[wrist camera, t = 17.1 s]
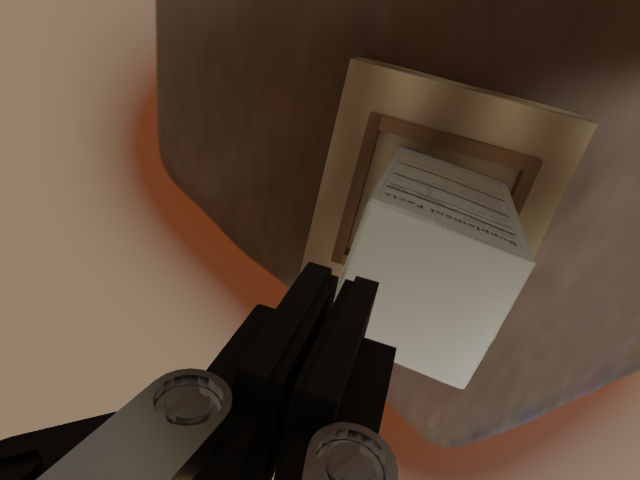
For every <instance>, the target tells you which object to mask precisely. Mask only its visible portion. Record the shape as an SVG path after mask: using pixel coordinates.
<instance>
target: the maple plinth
mask: <svg viewBox="0 0 640 480" xmlns="http://www.w3.org/2000/svg"><path fill="white" fill-rule="evenodd" d="M597 125H598V124H597V123H595V122H594V121H592V120H590V119H589V118H587V117H585V116H584V115H582V114H579V113H575V112H571V111H567V110H563V109H560V108H556V107H552V106H548V105H544V104H541V103H537V102H533V101H529V100H525V99H522V98H518V97H514V96H510V95H506V94H503V93H499V92H495V91H491V90H487V89H484V88H480V87H476V86H472V85H468V84H464V83H461V82H457V81H453V80H449V79H445V78H442V77H438V76H434V75H430V74H426V73H423V72H419V71H415V70H411V69H407V68H404V67H400V66H396V65H392V64H388V63H385V62H381V61H377V60H373V59H369V58H366V57H357V58H351V59H350V63H349V67H348V71H347V75H346V80H345V84H344V88H343V92H342V96H341V101H340V105H339V109H338V113H337V118H336V122H335V126H334V130H333V134H332V139H331V143H330V147H329V151H328V156H327V160H326V164H325V168H324V172H323V177H322V181H321V185H320V189H319V194H318V198H317V202H316V206H315V210H314V215H313V219H312V223H311V227H310V231H309V236H308V240H307V244H306V248H305V253H304V257H303V261H302V265H301V269H300V273H301V272H302V270H303V269H304V267H305V266H306V265H307V263H308V262H313V263H316V264H319V265H323V266H326V267H329V268H332V274H331V275H335V276H338V277H339V280H340V276H341V273H342V271H343V268H344V266H345V263H346V260H347V258H348V255H349V252H350V250H351V247H352V244H353V241H354V239H355V236H356V233H357V230H358V227H359V225H360V222H361V219H362V216H363V213H364V211H365V208H366V205H367V202H368V200H369V198H370V196H371V194H372V192H373V190H374V188H375V186H376V184H377V183H378V181H379V179H380V178H381V176H382V174H383V172H384V171H385V169H386V167H387V165H388V164H389V162H390V160H391V158H392V157H393V155H394V153H395V151H396V149H397V147H398V145H403V146H406V147H409V148H412V149H414V150H417V151H420V152H423V153H426V154H429V155H431V156H434V157H437V158H440V159H442V160H445V161H448V162H451V163H454V164H456V165H459V166H462V167H465V168H468V169H471V170H473V171H476V172H479V173H482V174H485V175H488V176H490V177H493V178H496V179H499V180H502V181H505V182H506V184H507V186H508V189H509V191H510V194H511V197H512V200H513V202H514V205H515V208H516V211H517V213H518V216H519V219H520V222H521V224H522V227H523V230H524V233H525V236H526V239H527V241H528V244H529V247H530V250H531V253H532V256H533V258H534V256H535V254H536V252H537V250H538V248H539V246H540V244H541V242H542V240H543V237H544V235H545V233H546V231H547V229H548V227H549V225H550V223H551V221H552V219H553V217H554V215H555V213H556V210H557V208H558V206H559V204H560V202H561V200H562V198H563V196H564V194H565V192H566V190H567V188H568V185H569V183H570V181H571V179H572V177H573V175H574V173H575V171H576V169H577V167H578V165H579V163H580V160H581V158H582V156H583V154H584V152H585V150H586V148H587V146H588V144H589V142H590V140H591V138H592V136H593V133H594V131H595V129H596V127H597ZM299 275H300V274H299ZM339 280H338V283H339ZM337 286H338V285H337ZM499 329H500V328H499ZM498 331H499V330H498ZM497 333H498V332H497ZM496 335H497V334H496ZM496 335H495V337H496ZM495 337H494V339H495ZM494 339H493V341H494Z"/></svg>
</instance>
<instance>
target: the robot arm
mask: <svg viewBox="0 0 640 480" xmlns="http://www.w3.org/2000/svg"><path fill="white" fill-rule="evenodd" d="M331 274H332V268H329V267H326V266H323V265H319V264H316V263H313V262H308V263H307V265H306V266H305V267H304V269H303V270H302V272H301V273H300V275H299V276H298V278H297V279H296V280H295V282H294V283H293V285H292V286H291V288H290V289H289V291H288V292H287V294H286V295H285V297H284V298H283V299H282V301H281V302H280V304H279V305H278V307H277V308H276V309H274V308H270V307H267V306H265V305H261V304H259V305H257V306H256V307H255V308H254V309H253V310H252V312H251V313H250V314H249V316H248V317H247V318H246V320H245V321H244V322H243V323H242V325H241V326H240V327H239V329H238V330H237V331H236V332H235V334H234V335H233V336H232V338H231V339H230V340H229V342H228V343H227V344H226V346H225V347H224V348H223V349H222V351H221V352H220V353H219V354H218V356H217V357H216V358H215V360H214V361H213V362H212V364H211V365H210V366H209V367H208V369H207V370H206V371H205V370H200V369H181V370H176V371H173V372H170V373H167V374H164V375H163V376H161V377H160V378H158V379H156V380H155V381H154V382H152V383H151V384H150V385H149V386H148V387H147V388H145V389H144V390H143V391H142V392H140V393H139V394H138V395H137V396H136V397H134V398H133V399H132V400H131V401H130V402H129V403H127V404H126V405H125V406H124V407H122V408H121V409H120V410H119V411H117V412H113V413H109V414H104V415H100V416H96V417H92V418H88V419H84V420H79V421H75V422H71V423H67V424H63V425H58V426H55V427H50V428H46V429H42V430H38V431H34V432H29V433H25V434H21V435H17V436H12V437H9V438H6V439H3V440H1V441H0V480H272V477H273V475H274V473H275V476H274V480H398V469H397V463H396V458H395V456H394V454H393V452H392V450H391V448H390V446H389V445H388V444H387V443H386V442H385V441H384V440H383V439H382V438H381V437H380V436H379V435H378V433H379V429H380V424H381V420H382V414H383V410H384V405H385V401H386V396H387V392H388V387H389V382H390V378H391V373H392V368H393V364H394V359H395V354H396V347H393V346H390V345H386V344H383V343H380V342H377V341H374V340H371V339H368V338H365V334H366V330H367V326H368V323H369V319H370V315H371V312H372V308H373V305H374V301H375V297H376V294H377V290H378V286H379V282H376V281H373V280H370V279H366V278H363V277H360V276H356V277H355V279H354V281H351V280H348V279H345V281H344V283H343V285H342V287H341V289H340V291H339V293H338V295H337V297H336V299H335V301H334V298H335V294H336V290H337V285H338V280H339V277H338V276H335V275H331ZM275 470H276V471H275Z"/></svg>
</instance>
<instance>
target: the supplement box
mask: <svg viewBox="0 0 640 480" xmlns="http://www.w3.org/2000/svg"><path fill="white" fill-rule="evenodd" d="M535 264H536V263H535V261H534V258H533V256H532V253H531V250H530V247H529V244H528V241H527V239H526V236H525V233H524V230H523V227H522V224H521V222H520V219H519V216H518V213H517V211H516V208H515V205H514V202H513V200H512V197H511V194H510V191H509V189H508V186H507V184H506V182H505V181H502V180H499V179H496V178H493V177H490V176H488V175H485V174H482V173H479V172H476V171H473V170H471V169H468V168H465V167H462V166H459V165H456V164H454V163H451V162H448V161H445V160H442V159H440V158H437V157H434V156H431V155H429V154H426V153H423V152H420V151H417V150H414V149H412V148H409V147H406V146H403V145H398V147H397V149H396V151H395V153H394V155H393V157H392V158H391V160H390V162H389V164H388V165H387V167H386V169H385V171H384V172H383V174H382V176H381V178H380V179H379V181H378V183H377V184H376V186H375V188H374V190H373V192H372V194H371V196H370V198H369V200H368V202H367V205H366V208H365V211H364V213H363V216H362V219H361V222H360V225H359V227H358V230H357V233H356V236H355V239H354V241H353V244H352V247H351V250H350V252H349V255H348V258H347V260H346V263H345V266H344V268H343V271H342V273H341V276H340V280H339V283H338V286H337V290H336V294H335V298H334V301H335V299H336V297H337V295H338V293H339V291H340V289H341V287H342V285H343V283H344V281H345V279H348V280H351V281H354V279H355V277H356V276H360V277H363V278H366V279H370V280H373V281H376V282H379V286H378V290H377V294H376V297H375V301H374V305H373V308H372V312H371V315H370V319H369V323H368V326H367V330H366V334H365V338H368V339H371V340H374V341H377V342H380V343H383V344H386V345H390V346H393V347H396V354H395V359H394V362H395V363H397V364H400V365H402V366H404V367H407V368H409V369H412V370H414V371H417V372H419V373H422V374H424V375H426V376H429V377H431V378H433V379H436V380H439V381H441V382H443V383H446V384H448V385H451V386H454V387H456V388H459V389H465V387H466V385H467V384H468V382H469V380H470V379H471V377H472V375H473V374H474V372H475V370H476V368H477V367H478V365H479V364H480V362H481V360H482V358H483V356H484V355H485V353H486V351H487V349H488V348H489V346H490V344H491V342H492V341H493V339H494V337H495V335H496V334H497V332H498V330H499V328H500V327H501V325H502V323H503V321H504V320H505V318H506V316H507V314H508V313H509V311H510V309H511V307H512V306H513V304H514V302H515V300H516V298H517V297H518V295H519V293H520V291H521V290H522V288H523V286H524V284H525V282H526V281H527V279H528V277H529V275H530V273H531V271H532V270H533V268H534V267H535Z"/></svg>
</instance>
